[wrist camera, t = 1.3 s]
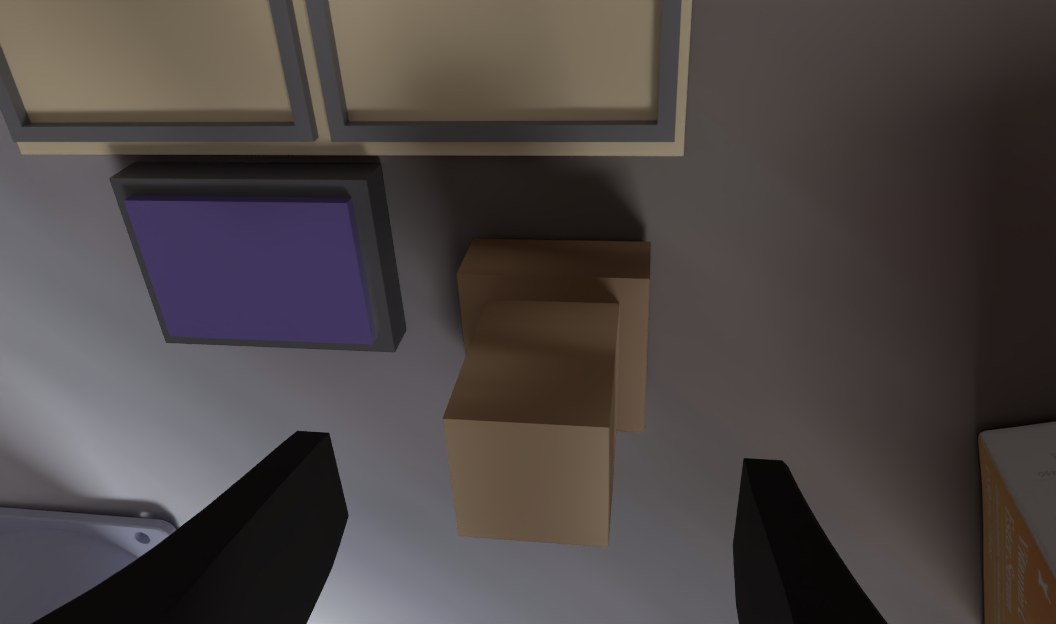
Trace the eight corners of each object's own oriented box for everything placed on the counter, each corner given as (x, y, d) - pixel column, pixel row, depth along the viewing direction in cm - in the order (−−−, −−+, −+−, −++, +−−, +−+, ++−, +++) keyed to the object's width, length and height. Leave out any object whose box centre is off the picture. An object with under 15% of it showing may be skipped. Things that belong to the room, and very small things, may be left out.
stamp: (488, 374, 20) (430, 555, 15) (475, 232, 18) (403, 388, 13) (645, 380, 19) (640, 572, 14) (650, 236, 17) (647, 400, 12)
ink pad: (186, 321, 20) (159, 349, 19) (134, 162, 18) (100, 183, 17) (406, 329, 20) (391, 359, 18) (380, 163, 17) (361, 185, 16)
